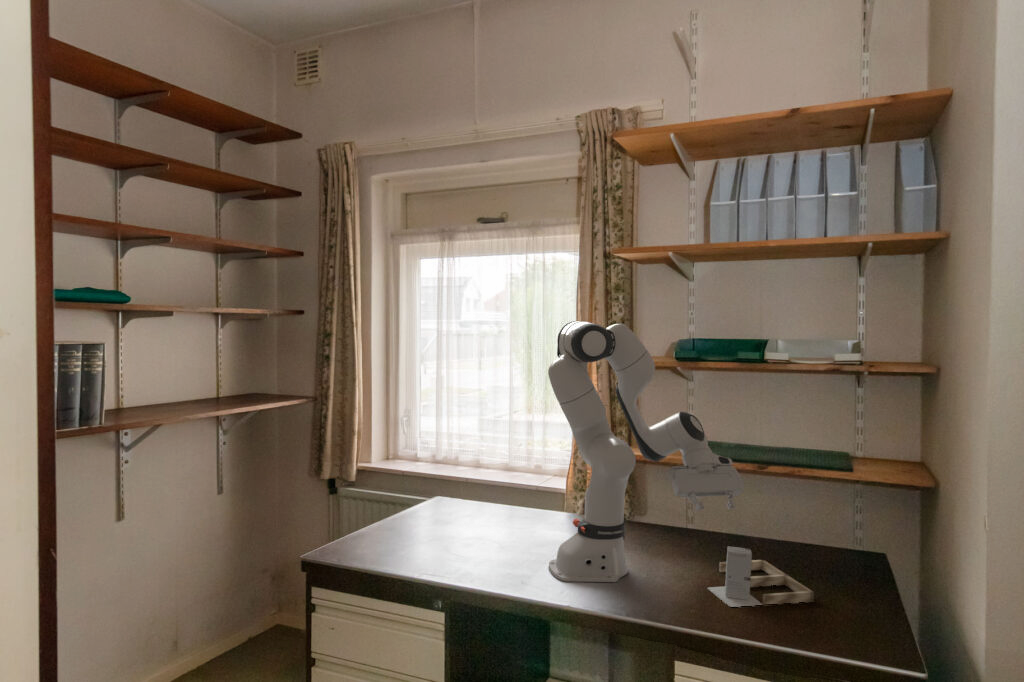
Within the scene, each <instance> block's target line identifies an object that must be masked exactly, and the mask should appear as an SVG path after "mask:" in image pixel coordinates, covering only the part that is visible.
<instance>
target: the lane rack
mask: <svg viewBox="0 0 1024 682" xmlns="http://www.w3.org/2000/svg"><path fill="white" fill-rule="evenodd" d="M718 563H719V564H718V565H719V567H718V571H719V572H720V573H726V561H720V562H718ZM751 571H764V573H766V574H768V575H755V576H754V575H753V576H751V580H750V588H759V586H762V587H773V585H776V586H786V587H788V588H789V589H790V590H791V591H790V592H789V591H788V592H774V593H763V594H762V604H778V605H784V604H783V603H791V604H800V603H799V602H805V603H814V602H815V591H813V590H811V589H810V588H808V587H807V586H805V585H803V584H802V583H800V581H797V580H796V579H794V578H793V577H791V576H790V575H788V574H787V573H785V572H783V571H782V570H780V569H778V568H777V567H776V566H774V565H773V564H771V563H769V562H768V561H766V560H764V559H756V560H755V559H752V563H751ZM771 585H772V586H771Z"/></svg>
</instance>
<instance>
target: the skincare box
mask: <svg viewBox="0 0 1024 682" xmlns="http://www.w3.org/2000/svg"><path fill="white" fill-rule="evenodd" d="M726 551H727V552H726V561H725V562H726V572H725V583H724V584H725V585H724V586H725V596H726V597H731V598H738V599H745V600H749V597H750V595H751V594H750V593H751V587H750V580H751V577H752V576H751V575H752V570H751V563H752V560H753V559H752V558H753V556H752V555H753V553H752V549H750V548H744V547H737V546H729V545H728V546H727V547H726Z"/></svg>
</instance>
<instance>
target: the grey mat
mask: <svg viewBox="0 0 1024 682" xmlns="http://www.w3.org/2000/svg"><path fill="white" fill-rule="evenodd" d="M706 590H708V591H710V592H711V593H712V594H713V595H714V596H716V597H717V598H718V599H719V600H720V601H721V600H722V601H721V602H723V603H724V604H725V605H726V604H727V605H728V607H729V606H730V607H738V608H742V607H741V606H752V607H756V606H755V605H763V602H760V601H759V600H758V599H757V598H755V597H754V596H753V595H751V594H750V597H749V600H745V599H738V598H731V597H726V596H725V585H724V586H710V587H707V588H706ZM727 605H726V606H727ZM763 606H764V605H763ZM730 607H729V608H730Z"/></svg>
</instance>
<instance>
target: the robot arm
mask: <svg viewBox="0 0 1024 682" xmlns="http://www.w3.org/2000/svg"><path fill="white" fill-rule="evenodd" d="M556 348H557V351H556V355H557V357H558V358H557V359H555V360H554V361H552V363H551V364H550V365H549V367H548V371H547V374H548V378H549V381H550V386H551V388H552V391H553V392H554V396H555V397H556V400H557V402H558V404H559V406H560V408H561V410H562V412H563V414H564V417H565V418H566V420H567V421H568V422H567V423H568V425H569V427H570V429H571V432H572V435H573V438H574V441H575V443H576V446H577V449H578V452H579V455H580V457H581V458H582V460H583V462H584V463H585V464H587V465H588V466H590V468H591V476H590V481H589V484H588V487H587V489H585V493H584V494H585V495H584V518H583V519H582V520H580V519H578V518H573V520H572V524H573V526H574V527H575V528H577V532H576V533H574V535H571V536H570V537H569V538H568V539H567V540H565V541H564V542H563V543H561V544H560V545H559V547H558V550H557V553H556V558H554V559H551V560H550V561H549V563H548V570H549V572H550V573H551V574H552V576H553V577H555V578H556V579H558V580H559V581H562V582H582V583H584V582H587V583H588V582H589V583H593V582H595V583H616V582H618V581H619V580H620V578H622V577H624V576H626V575H627V574H628V573H629V568H628V564H627V561H626V554H625V552H626V551H625V538H626V523H625V522H626V521H625V520H624V518H625V517H624V515H625V514H624V513H625V496H626V489H627V486H628V482H629V479H630V475H631V474H632V473H633V471H634V469H635V468H636V463H637V461H636V460H637V459H636V454H635V453H634V451H633V449H632V447H631V446H630V445H629V444H628V442H626V441H625V440H623V439H621V438H619V437H617V435H616V436H615V434H614V433H613V431H612V430H611V427H610V425H609V420H608V418H607V409H606V407H605V405H604V403H603V401H602V399H601V397H600V395H599V392H598V390H597V389H596V387H595V384H594V383H593V380H592V379H591V377H590V374H589V369H588V364H589V363H595V362H598V361H600V360H603V359H605V360H606V361H607V362H608V363H609V365H610V367H611V368H612V370H613V371H614V374H615V375H616V377H617V381H618V382H617V385H616V387H615V394H616V397H617V401H618V402H619V405H620V407H621V410H622V412H623V414H624V417H625V419H626V421H627V424H628V425H629V427H630V430H631V432H632V434H633V436H634V439H635V441H636V444H637V447H638V450H639V452H640V454H641V455H642V457H643V458H644V459H645V460H648V461H651V462H655V463H656V462H657V463H659V462H660V461H662V460H663V459H665V458H667V457H668V456H670V455H672V454H674V453H676V452H678V451H679V452H680V453H681V458H682V463H683V465H673V466H672V467H670V468H669V470H668V473H669V476H670V477H669V478H670V479H671V483H672V488H673V489H672V490H673V493H674V495H675V496H676V497H677V498H688V500H689V502H691V503H692V504H693V506H695V509H696V511H703V510H704V508H705V507H704V503H703V501H700V500H698V499H697V498H700V497H702V498H703V497H721V496H724V497H726V498H727V499H729V500H728V501H727V502H726V503H725V504H726V506H727V510H734V509H735V508H736V504H735V502H734V500H735V497H736V496H740V495H741V494H742V493H743V491H744V488H745V485H744V484H745V483H744V482H743V479H742V476H741V475H740V473H739V472H738V469H736V467H734V466H733V465H734V461H733V460H732V459H731V458H730V457H726V456H721V455H720V454H716V453H713V451H712V449H711V447H710V446H709V442H708V437H707V436H706V433H705V430H704V428H703V425H702V423H701V421H699V419H698V417H696V416H695V415H693V414H692V413H689V412H687V411H679V412H676V413H674V414H672V415H670V416H668V417H666V418H665V419H663V420H661V421H659V422H656V423H655V424H653V425H647V424H646V421H645V420H644V416H642V413H641V411H640V409H639V406H638V404H637V400H638V398H639V397H640V396H641V395H642V393H643V392H644V391H645V390H646V389H647V388H648V387H649V386H650V383H651V382H652V380H653V378H654V375H655V373H656V364H655V361H654V359H653V357H652V355H651V353H650V351H648V349H647V347H646V346H645V345H644V343H643V342H642V341H641V340H640V338H639V336H637V335H636V334H635V332H633V330H632V329H630V328H629V327H628V326H627V325H626V324H623V323H615V324H611V325H609V326H608V327H606V328H605V327H603V326H601V325H600V324H597V323H591V322H590V321H589V322H588V321H585V320H580V321H579V320H578V321H577V320H575V321H570V322H567V323H566V324H565V325H563V326H562V327H561V328H560V329H559V332H558V334H557V347H556Z"/></svg>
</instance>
